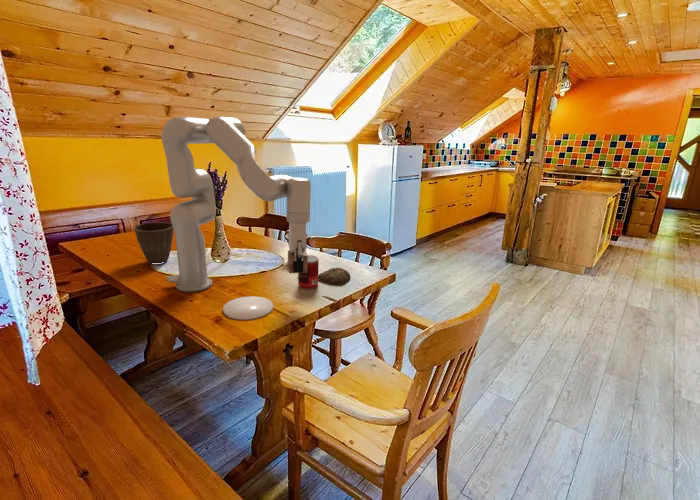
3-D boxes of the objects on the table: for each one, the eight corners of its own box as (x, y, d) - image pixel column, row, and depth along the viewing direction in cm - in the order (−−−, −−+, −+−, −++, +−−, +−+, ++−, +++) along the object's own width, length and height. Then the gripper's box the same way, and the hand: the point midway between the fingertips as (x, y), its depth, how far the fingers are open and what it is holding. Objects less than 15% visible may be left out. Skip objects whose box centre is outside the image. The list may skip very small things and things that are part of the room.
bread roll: (339, 287, 147) (339, 275, 145) (313, 280, 153) (313, 268, 151) (356, 277, 157) (356, 266, 156) (331, 271, 163) (331, 260, 162)
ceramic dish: (221, 321, 117) (221, 319, 117) (225, 300, 132) (224, 297, 131) (274, 317, 120) (274, 315, 120) (272, 297, 135) (272, 295, 135)
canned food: (318, 281, 151) (319, 255, 148) (317, 289, 143) (318, 261, 140) (299, 281, 151) (299, 254, 147) (297, 289, 143) (297, 261, 140)
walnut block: (289, 273, 126) (289, 256, 124) (287, 266, 132) (287, 250, 130) (307, 272, 127) (307, 255, 126) (305, 266, 133) (305, 250, 131)
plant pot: (177, 265, 163) (173, 229, 158) (138, 269, 157) (132, 231, 152) (176, 255, 176) (172, 221, 171) (139, 258, 170) (135, 223, 165)
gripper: (284, 210, 131) (284, 260, 136) (288, 222, 115) (288, 278, 120) (306, 210, 133) (305, 259, 138) (313, 222, 117) (311, 277, 122)
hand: (297, 267), depth 129 cm, fingers closed on walnut block, 6 cm apart
